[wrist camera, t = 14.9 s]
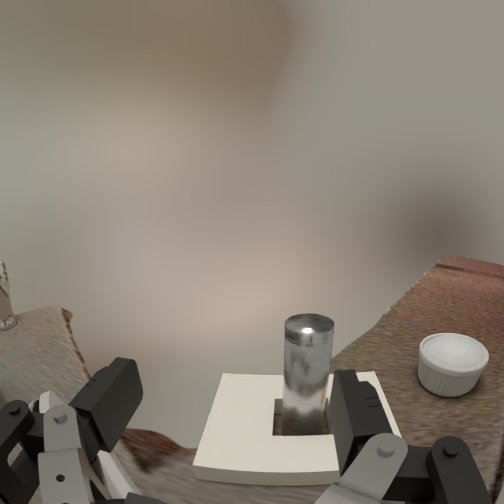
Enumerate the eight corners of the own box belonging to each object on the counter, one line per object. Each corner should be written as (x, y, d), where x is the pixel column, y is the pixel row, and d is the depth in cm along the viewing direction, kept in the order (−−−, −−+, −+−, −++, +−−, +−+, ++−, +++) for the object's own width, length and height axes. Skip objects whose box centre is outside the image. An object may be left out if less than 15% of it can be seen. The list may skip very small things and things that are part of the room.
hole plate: (196, 478, 22) (192, 463, 21) (224, 387, 37) (223, 372, 37) (402, 473, 20) (410, 458, 19) (371, 385, 35) (374, 370, 35)
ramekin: (429, 353, 41) (436, 325, 40) (485, 373, 32) (495, 343, 31) (398, 385, 35) (406, 353, 33) (464, 412, 25) (478, 380, 24)
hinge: (164, 523, 16) (88, 483, 12) (128, 546, 13) (44, 510, 9) (96, 423, 28) (46, 367, 24) (71, 441, 25) (17, 388, 21)
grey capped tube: (280, 445, 27) (284, 334, 24) (282, 419, 31) (285, 313, 28) (321, 444, 26) (337, 334, 23) (319, 418, 30) (330, 313, 27)
